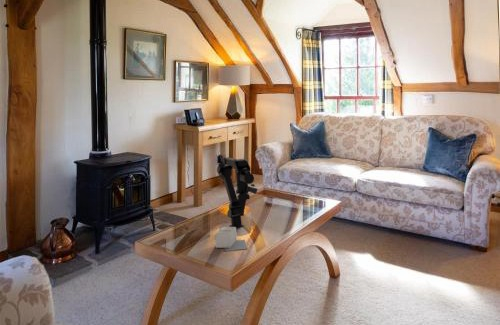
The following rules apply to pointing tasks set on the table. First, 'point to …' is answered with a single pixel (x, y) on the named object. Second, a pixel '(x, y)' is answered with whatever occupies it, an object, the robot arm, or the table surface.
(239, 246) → the mat
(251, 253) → the table surface
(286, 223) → the table surface
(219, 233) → the supplement box
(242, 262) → the table surface
